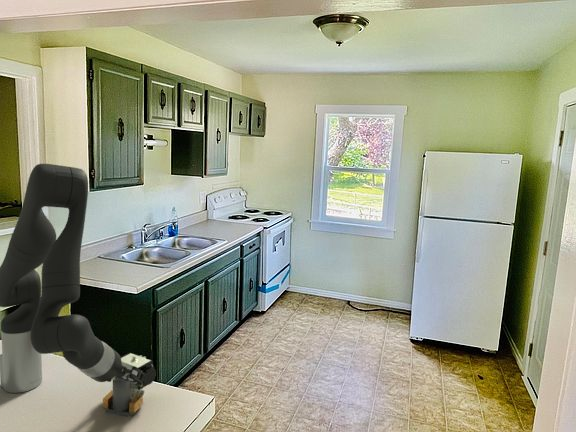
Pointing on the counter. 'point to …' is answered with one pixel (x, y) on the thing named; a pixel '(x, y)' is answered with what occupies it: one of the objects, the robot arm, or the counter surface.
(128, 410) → the clip bracket
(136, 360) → the pneumatic valve
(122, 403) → the bottle
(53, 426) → the counter surface
